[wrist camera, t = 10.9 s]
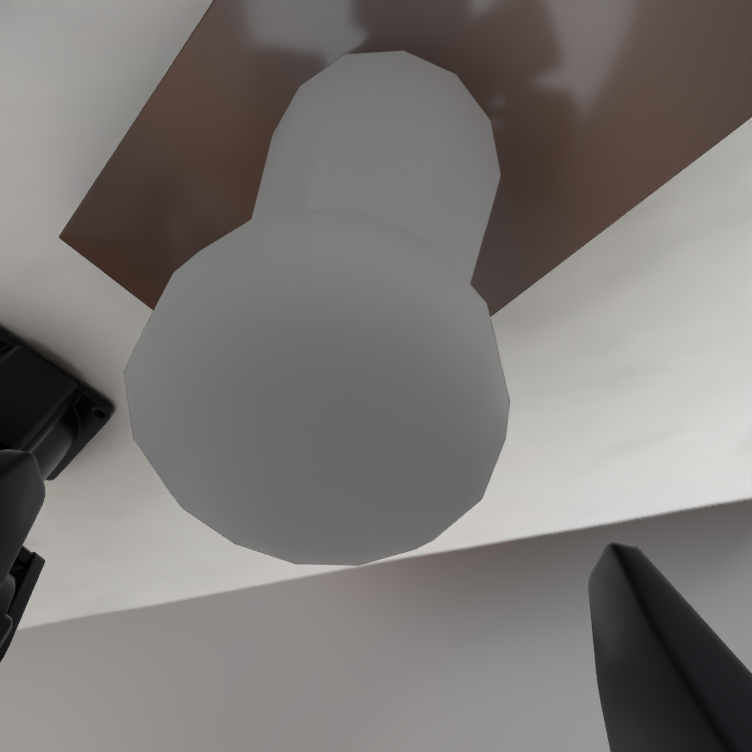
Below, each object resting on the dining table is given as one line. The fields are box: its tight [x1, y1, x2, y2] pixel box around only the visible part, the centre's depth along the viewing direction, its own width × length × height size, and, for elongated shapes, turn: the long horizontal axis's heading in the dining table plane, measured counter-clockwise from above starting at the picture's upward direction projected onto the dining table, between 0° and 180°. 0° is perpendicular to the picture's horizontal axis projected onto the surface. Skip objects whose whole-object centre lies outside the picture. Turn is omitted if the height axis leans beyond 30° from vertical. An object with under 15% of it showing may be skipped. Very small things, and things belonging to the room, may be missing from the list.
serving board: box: [59, 0, 752, 317], centre depth 17 cm, size 20×12×2 cm, turn 136°
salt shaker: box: [124, 51, 510, 565], centre depth 11 cm, size 6×6×13 cm
